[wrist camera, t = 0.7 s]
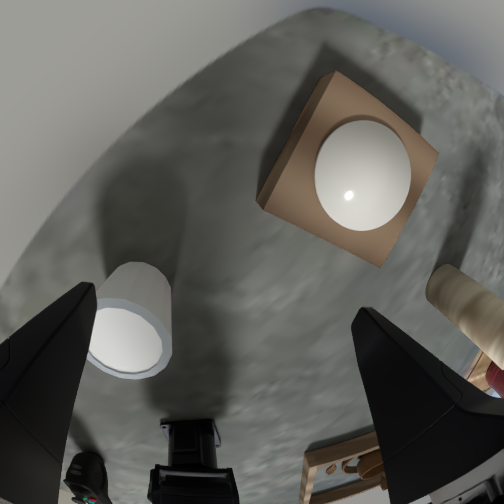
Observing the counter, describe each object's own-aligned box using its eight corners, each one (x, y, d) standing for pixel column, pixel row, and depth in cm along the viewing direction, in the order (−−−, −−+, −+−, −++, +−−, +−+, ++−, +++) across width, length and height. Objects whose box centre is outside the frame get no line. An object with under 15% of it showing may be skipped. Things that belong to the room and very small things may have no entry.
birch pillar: (450, 298, 30) (520, 358, 18) (422, 307, 29) (493, 377, 17) (459, 260, 28) (539, 316, 16) (429, 268, 27) (514, 333, 15)
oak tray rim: (402, 464, 50) (407, 473, 47) (298, 500, 47) (301, 510, 44) (441, 401, 40) (449, 412, 37) (304, 452, 37) (309, 467, 34)
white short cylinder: (124, 237, 22) (96, 277, 15) (194, 284, 24) (193, 336, 18) (89, 298, 23) (61, 347, 17) (153, 337, 25) (143, 393, 19)
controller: (95, 442, 31) (84, 498, 22) (118, 476, 35) (114, 523, 26) (69, 437, 30) (56, 491, 21) (96, 473, 34) (89, 518, 25)
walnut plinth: (363, 254, 25) (382, 270, 22) (255, 200, 22) (264, 211, 19) (417, 149, 22) (442, 154, 19) (320, 77, 19) (338, 69, 16)
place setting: (417, 421, 42) (432, 442, 36) (383, 469, 49) (392, 487, 44) (335, 447, 39) (346, 475, 34) (313, 490, 46) (320, 511, 41)
